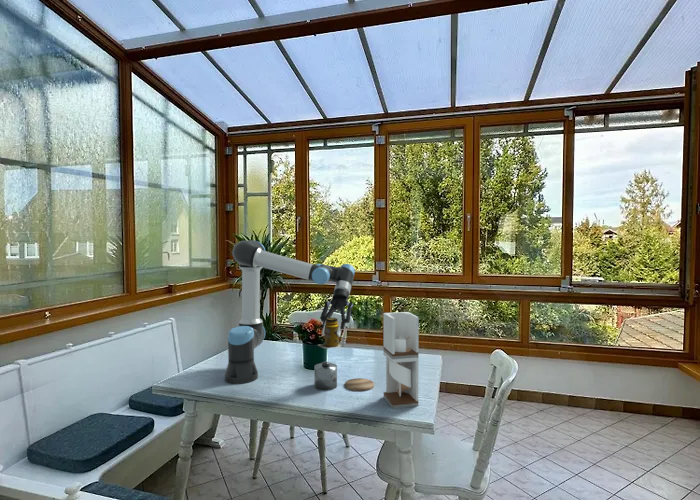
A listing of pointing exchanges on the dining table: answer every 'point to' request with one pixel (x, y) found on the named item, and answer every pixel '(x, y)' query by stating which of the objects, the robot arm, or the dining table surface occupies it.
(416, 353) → the display case
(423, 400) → the dining table surface
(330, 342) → the condiment
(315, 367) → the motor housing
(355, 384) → the tan plate
